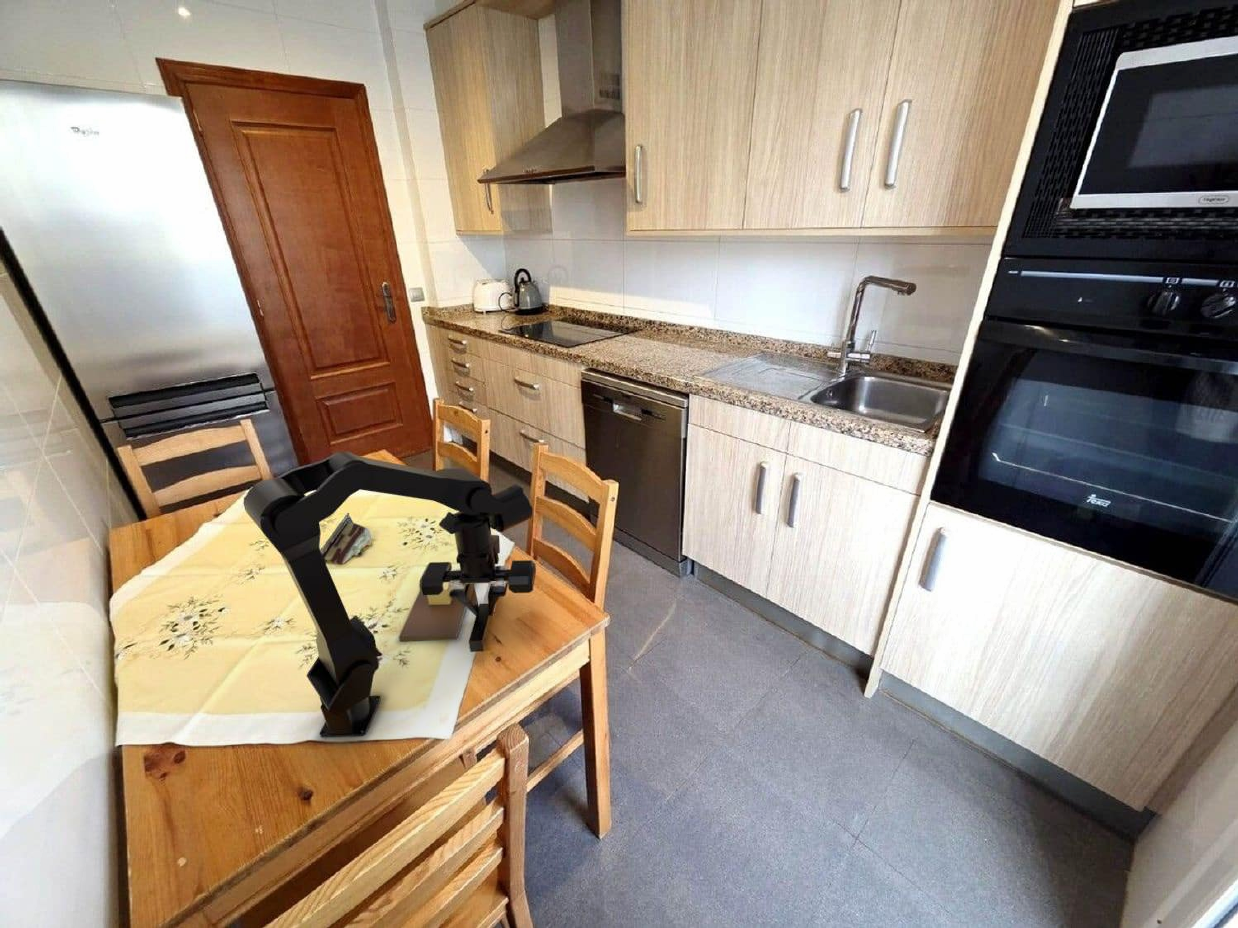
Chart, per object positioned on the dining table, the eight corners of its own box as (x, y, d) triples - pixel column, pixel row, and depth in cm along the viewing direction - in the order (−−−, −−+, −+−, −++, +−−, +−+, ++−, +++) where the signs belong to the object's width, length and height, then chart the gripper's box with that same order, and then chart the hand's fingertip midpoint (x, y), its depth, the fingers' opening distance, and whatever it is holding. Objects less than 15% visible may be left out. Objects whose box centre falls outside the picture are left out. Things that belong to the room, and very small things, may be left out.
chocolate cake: (342, 573, 106) (369, 520, 109) (312, 561, 106) (339, 509, 109) (362, 575, 115) (386, 526, 118) (334, 564, 116) (359, 516, 119)
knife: (484, 651, 84) (482, 641, 83) (469, 652, 84) (467, 641, 83) (504, 571, 103) (503, 561, 101) (492, 571, 102) (490, 562, 101)
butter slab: (448, 594, 95) (447, 589, 94) (426, 594, 95) (425, 589, 94) (456, 573, 100) (455, 568, 100) (435, 574, 100) (434, 569, 100)
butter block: (450, 604, 96) (448, 594, 95) (429, 604, 96) (426, 594, 95) (457, 583, 101) (456, 573, 100) (437, 584, 101) (435, 574, 100)
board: (456, 639, 90) (455, 635, 89) (399, 641, 89) (398, 636, 89) (477, 574, 106) (476, 570, 105) (429, 575, 105) (428, 571, 105)
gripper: (536, 515, 90) (541, 583, 97) (431, 517, 90) (444, 585, 97) (529, 552, 81) (535, 625, 88) (410, 555, 80) (427, 628, 87)
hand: (484, 614), depth 90 cm, fingers closed on knife, 2 cm apart
